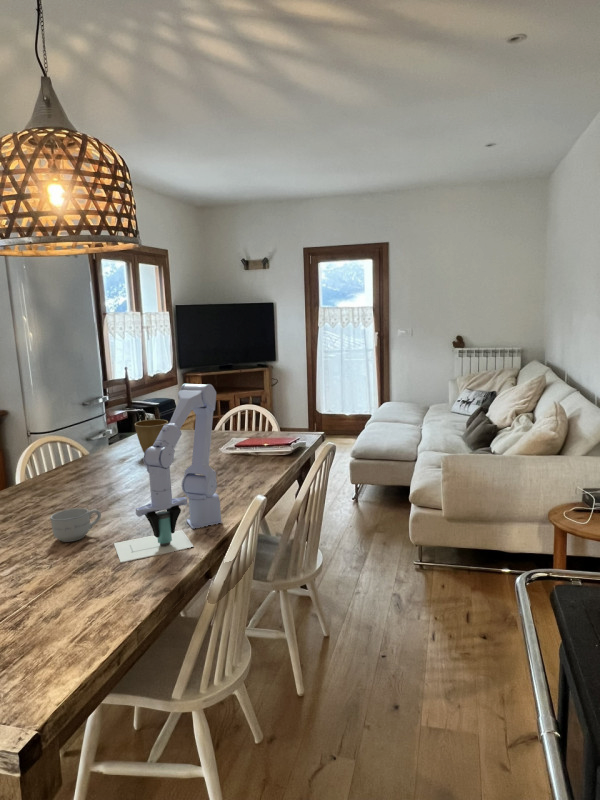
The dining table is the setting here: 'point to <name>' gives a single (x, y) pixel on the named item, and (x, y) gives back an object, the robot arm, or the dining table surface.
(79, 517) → the teacup
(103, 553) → the dining table surface
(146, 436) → the plant pot
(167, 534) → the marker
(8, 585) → the dining table surface
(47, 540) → the dining table surface
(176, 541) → the paper pad
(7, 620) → the dining table surface
